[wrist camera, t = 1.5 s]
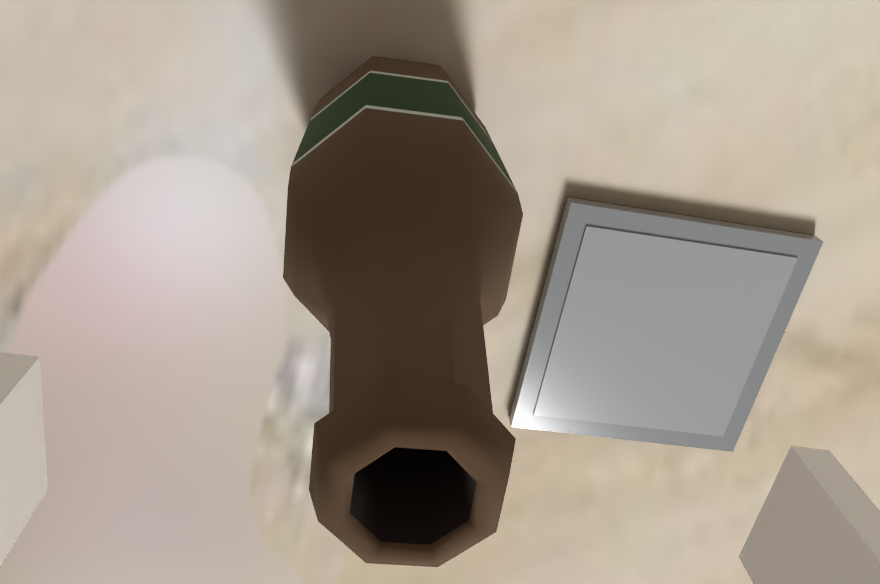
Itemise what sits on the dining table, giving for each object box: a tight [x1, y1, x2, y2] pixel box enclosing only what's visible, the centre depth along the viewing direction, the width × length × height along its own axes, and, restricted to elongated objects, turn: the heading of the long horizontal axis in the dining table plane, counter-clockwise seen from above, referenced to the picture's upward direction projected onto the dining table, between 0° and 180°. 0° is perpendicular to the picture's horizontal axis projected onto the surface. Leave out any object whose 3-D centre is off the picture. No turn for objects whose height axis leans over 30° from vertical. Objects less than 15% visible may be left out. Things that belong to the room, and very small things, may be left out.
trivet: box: [509, 197, 823, 452], centre depth 39 cm, size 13×13×1 cm
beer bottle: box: [283, 57, 523, 567], centre depth 23 cm, size 8×8×24 cm
